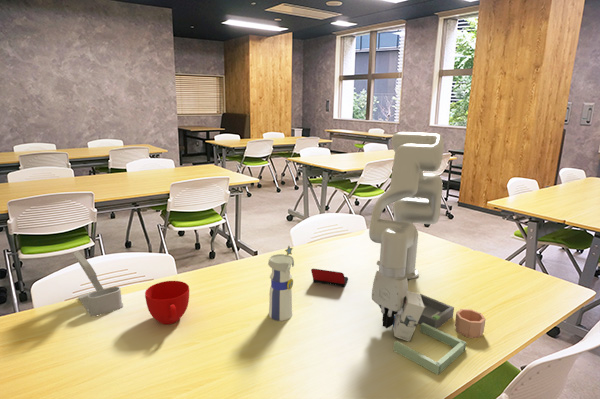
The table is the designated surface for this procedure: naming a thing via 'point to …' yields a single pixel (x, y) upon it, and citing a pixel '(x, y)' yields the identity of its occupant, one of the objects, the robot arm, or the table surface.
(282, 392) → the table surface
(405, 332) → the ink box
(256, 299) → the table surface
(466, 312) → the cup
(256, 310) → the table surface
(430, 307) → the tray
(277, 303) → the water bottle
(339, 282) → the handheld game console
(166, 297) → the ceramic cup
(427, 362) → the pale green horseshoe bracket
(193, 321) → the table surface
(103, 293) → the grey hollow angled piece
